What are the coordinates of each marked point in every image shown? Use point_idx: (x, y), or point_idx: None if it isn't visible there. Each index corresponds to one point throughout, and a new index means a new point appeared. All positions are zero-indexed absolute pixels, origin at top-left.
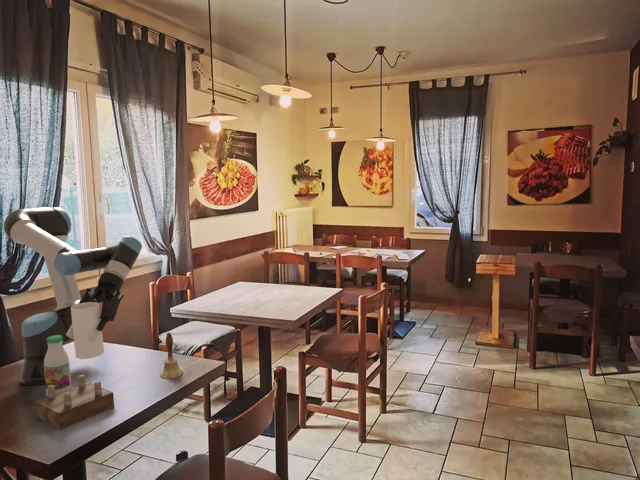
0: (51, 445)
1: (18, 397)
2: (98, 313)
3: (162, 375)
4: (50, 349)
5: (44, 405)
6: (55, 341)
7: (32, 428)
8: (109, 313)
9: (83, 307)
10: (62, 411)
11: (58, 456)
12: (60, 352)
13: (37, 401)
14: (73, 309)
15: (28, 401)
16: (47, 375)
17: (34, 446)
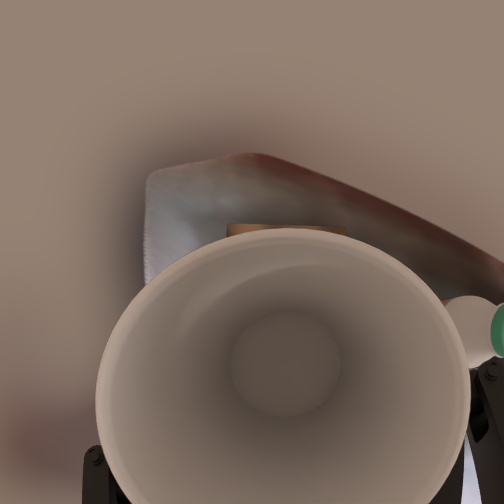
0: (192, 197)
1: (467, 266)
2: (160, 455)
3: None
4: (487, 308)
5: (303, 226)
6: (494, 321)
7: (293, 208)
8: (90, 477)
9: (419, 455)
10: (229, 232)
11: (150, 188)
12: (464, 337)
13: (342, 228)
14: (268, 230)
15: (434, 268)
16: (443, 300)
17: (216, 179)
